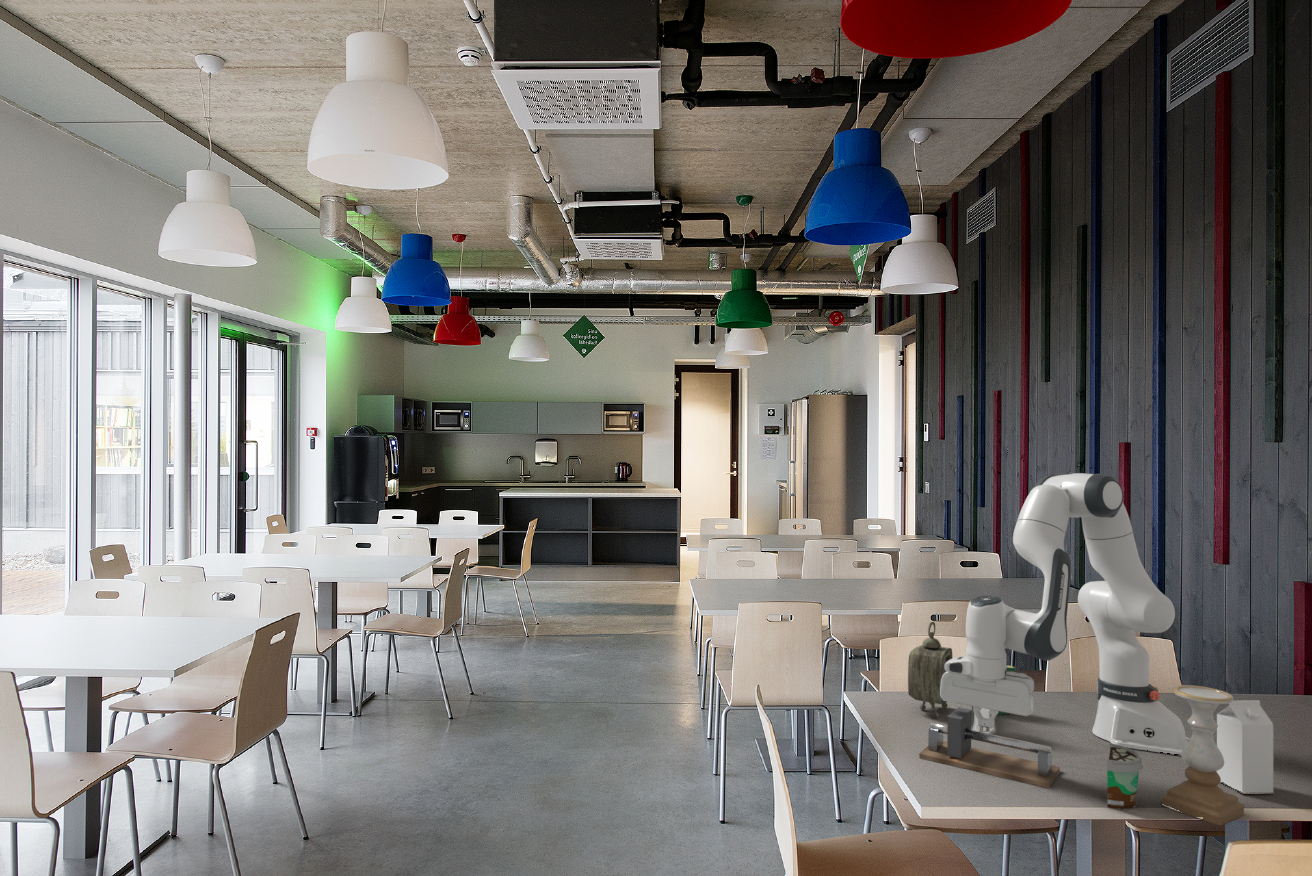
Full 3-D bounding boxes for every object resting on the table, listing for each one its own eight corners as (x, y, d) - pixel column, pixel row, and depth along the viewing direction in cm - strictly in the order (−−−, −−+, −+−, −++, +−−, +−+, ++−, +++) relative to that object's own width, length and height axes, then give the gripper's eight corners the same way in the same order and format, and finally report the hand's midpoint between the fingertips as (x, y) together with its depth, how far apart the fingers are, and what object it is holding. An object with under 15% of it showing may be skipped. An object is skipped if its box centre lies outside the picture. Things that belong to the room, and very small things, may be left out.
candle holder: (1186, 794, 171) (1186, 681, 171) (1245, 814, 162) (1245, 695, 162) (1160, 805, 165) (1160, 688, 165) (1220, 827, 156) (1220, 703, 156)
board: (1059, 771, 182) (1059, 766, 182) (1049, 788, 173) (1049, 783, 173) (934, 743, 199) (935, 739, 199) (919, 757, 189) (919, 753, 189)
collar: (971, 747, 192) (971, 709, 193) (960, 758, 185) (960, 719, 185) (958, 744, 194) (958, 707, 194) (947, 755, 187) (947, 716, 187)
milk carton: (1216, 782, 178) (1216, 696, 178) (1246, 781, 178) (1246, 695, 179) (1242, 795, 171) (1242, 705, 171) (1273, 795, 171) (1273, 705, 172)
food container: (1142, 817, 159) (1142, 767, 159) (1106, 810, 162) (1107, 760, 163) (1143, 796, 170) (1143, 748, 170) (1109, 789, 173) (1110, 742, 173)
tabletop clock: (940, 721, 216) (941, 628, 216) (906, 715, 221) (907, 624, 221) (952, 707, 228) (953, 619, 229) (919, 702, 233) (920, 615, 233)
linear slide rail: (1051, 770, 180) (1052, 743, 180) (1047, 777, 176) (1047, 750, 176) (934, 744, 195) (934, 719, 196) (928, 750, 191) (928, 725, 192)
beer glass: (1000, 736, 205) (1000, 677, 205) (971, 733, 207) (972, 675, 207) (994, 727, 212) (995, 670, 212) (966, 725, 213) (967, 668, 214)
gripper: (1037, 671, 183) (1036, 732, 183) (945, 657, 195) (945, 714, 195) (1031, 677, 178) (1031, 740, 178) (937, 662, 190) (937, 721, 190)
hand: (985, 727), depth 186 cm, fingers closed
